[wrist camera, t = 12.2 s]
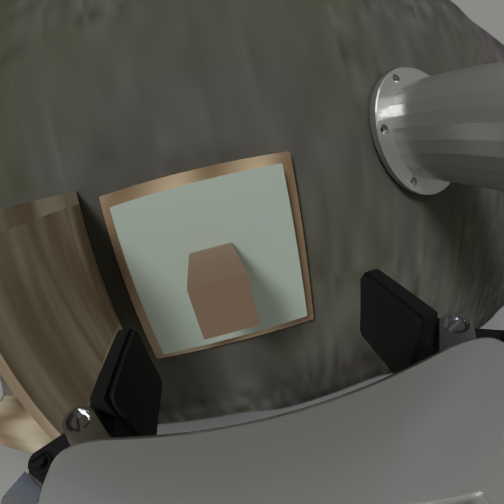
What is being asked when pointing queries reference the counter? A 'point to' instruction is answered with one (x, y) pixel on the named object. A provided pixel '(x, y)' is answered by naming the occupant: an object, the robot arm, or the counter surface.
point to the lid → (214, 257)
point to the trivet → (192, 177)
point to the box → (49, 319)
